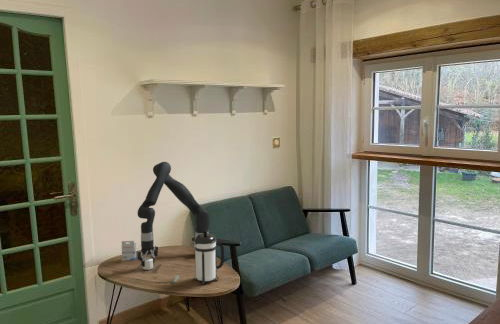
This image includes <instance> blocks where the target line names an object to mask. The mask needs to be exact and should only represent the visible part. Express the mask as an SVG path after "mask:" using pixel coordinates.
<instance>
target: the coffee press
mask: <svg viewBox="0 0 500 324" xmlns="http://www.w3.org/2000/svg"><path fill="white" fill-rule="evenodd" d="M203 233H204V234H200V235H198V236H196V238H194V239H193V240H194V242H193V247H194V260H195V261H194V262H195V263H194V266H195V271H194V272H195V276H194V277H193V280H194V281H196V280H198V281H199V282H200V281H201V286H205V285H206V282H210V281H213V280H215V281H216V282H218V281H219V277H218V274H217V273H218V272H217V270H219V269H221V268H222V267H223V266H224V262H225V248H224V245H223V244H222V243H221V242H217V238H216V236H215V235H214V234H212V233H209V234H208V233H207V231H204V232H203ZM218 246H219V248H220V262H219V264H217V247H218Z"/></svg>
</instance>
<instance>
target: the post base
mask: <svg viewBox="0 0 500 324" xmlns="http://www.w3.org/2000/svg"><path fill="white" fill-rule="evenodd" d="M161 266H162V263H156V264H155V263H154V264H153V268H152V269H149V270H145V269H143V266H142V265H141V263H140V264H139V265H138V267H137V268H136V269H135V270H134V272H133V274H157V273H158V271H159V270H160V267H161Z"/></svg>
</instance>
